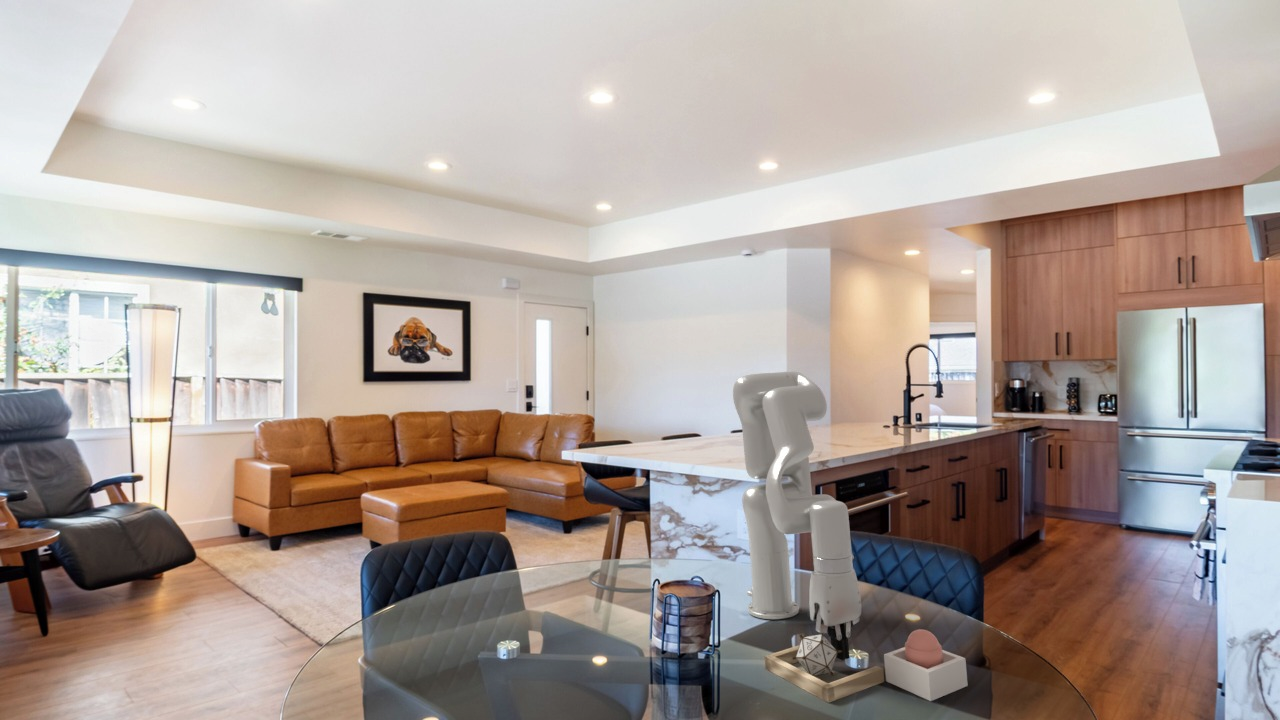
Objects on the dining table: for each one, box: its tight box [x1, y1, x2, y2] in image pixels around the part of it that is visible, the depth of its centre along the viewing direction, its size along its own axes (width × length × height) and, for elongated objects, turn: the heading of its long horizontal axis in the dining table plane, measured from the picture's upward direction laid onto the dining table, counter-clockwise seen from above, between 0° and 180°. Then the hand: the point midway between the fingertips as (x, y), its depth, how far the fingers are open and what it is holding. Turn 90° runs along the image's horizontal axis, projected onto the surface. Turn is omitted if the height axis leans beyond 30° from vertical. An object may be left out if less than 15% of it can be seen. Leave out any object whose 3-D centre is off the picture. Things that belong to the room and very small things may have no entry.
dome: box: [904, 628, 943, 669], centre depth 126 cm, size 6×6×6 cm
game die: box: [792, 633, 842, 677], centre depth 133 cm, size 9×8×10 cm
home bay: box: [763, 644, 885, 704], centre depth 133 cm, size 18×14×2 cm
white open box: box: [883, 646, 968, 702], centre depth 126 cm, size 10×10×5 cm
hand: (840, 657), depth 134 cm, fingers closed
